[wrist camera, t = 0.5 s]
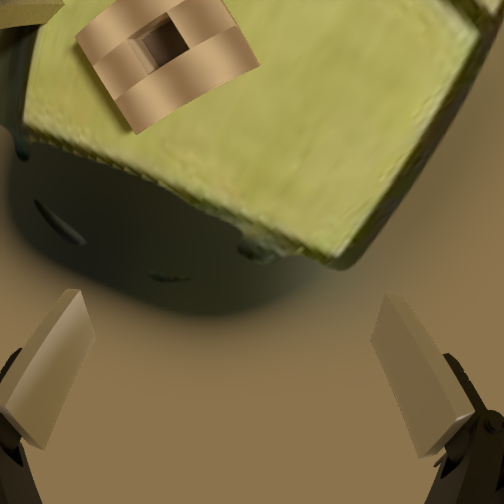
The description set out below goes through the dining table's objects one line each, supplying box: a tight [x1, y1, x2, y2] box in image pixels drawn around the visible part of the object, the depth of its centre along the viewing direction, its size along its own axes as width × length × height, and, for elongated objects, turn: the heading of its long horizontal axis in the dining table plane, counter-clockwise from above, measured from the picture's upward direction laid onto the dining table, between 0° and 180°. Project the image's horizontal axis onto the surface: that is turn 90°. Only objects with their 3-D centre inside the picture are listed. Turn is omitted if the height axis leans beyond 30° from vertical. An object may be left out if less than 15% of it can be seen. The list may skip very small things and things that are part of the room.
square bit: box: [0, 0, 65, 29], centre depth 15 cm, size 4×4×12 cm
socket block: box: [75, 0, 260, 135], centre depth 23 cm, size 14×14×4 cm
